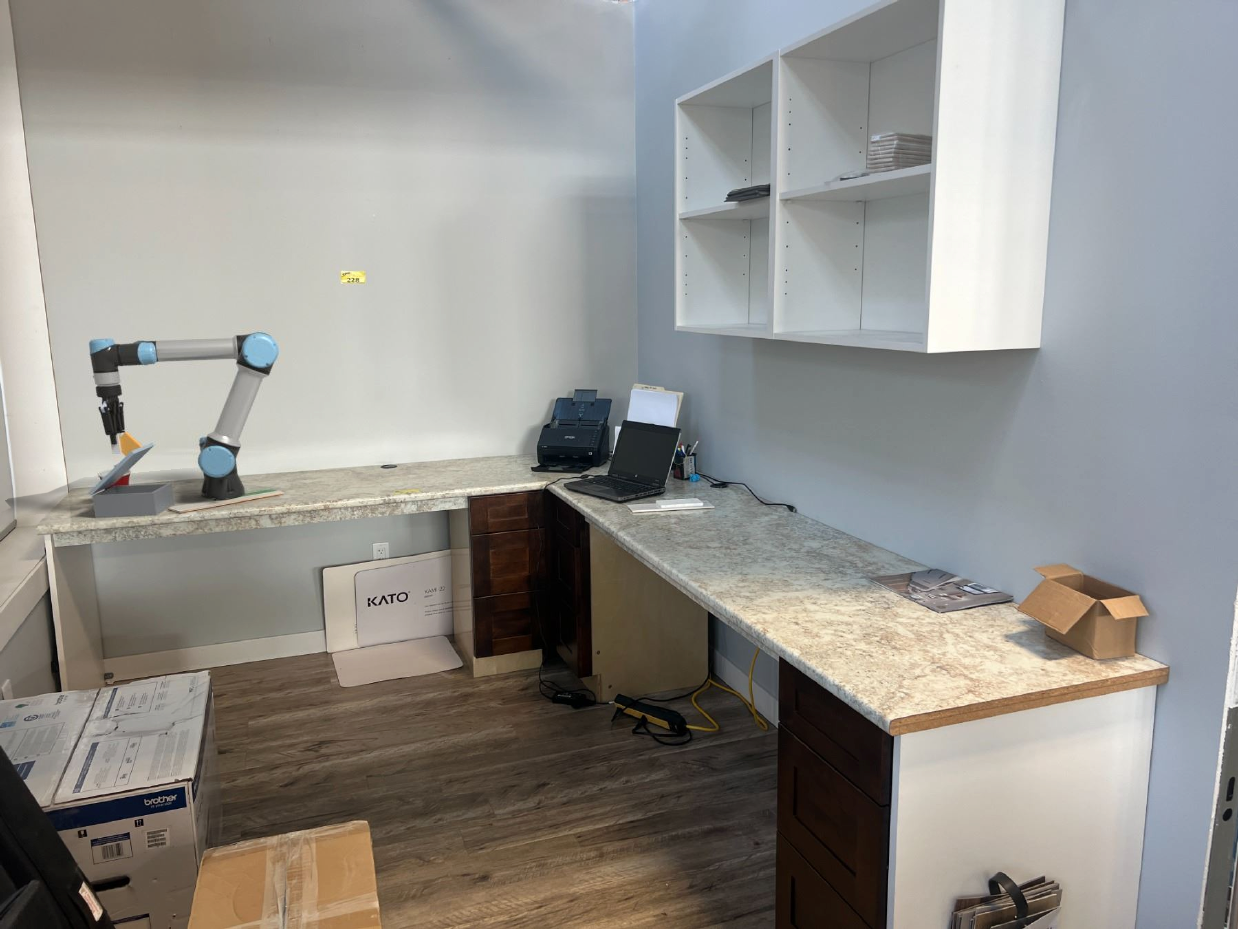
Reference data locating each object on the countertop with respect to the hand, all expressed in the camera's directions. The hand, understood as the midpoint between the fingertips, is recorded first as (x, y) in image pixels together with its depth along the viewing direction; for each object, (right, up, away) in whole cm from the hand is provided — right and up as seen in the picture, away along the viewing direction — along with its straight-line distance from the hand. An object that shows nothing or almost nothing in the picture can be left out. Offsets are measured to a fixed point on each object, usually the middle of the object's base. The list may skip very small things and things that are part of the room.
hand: (118, 452), depth 301 cm
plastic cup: (-12, -19, +21) cm, 31 cm away
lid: (+1, -6, +1) cm, 6 cm away
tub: (+4, -21, +5) cm, 22 cm away
